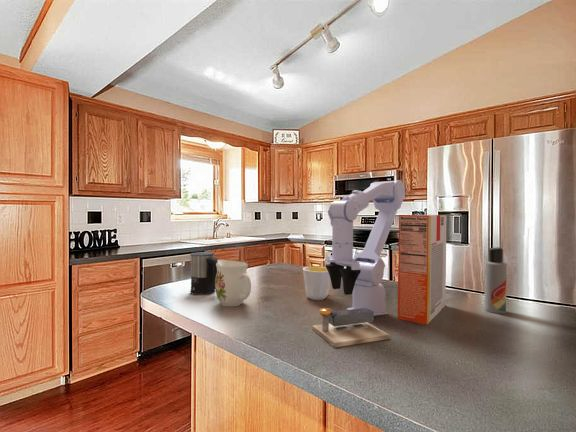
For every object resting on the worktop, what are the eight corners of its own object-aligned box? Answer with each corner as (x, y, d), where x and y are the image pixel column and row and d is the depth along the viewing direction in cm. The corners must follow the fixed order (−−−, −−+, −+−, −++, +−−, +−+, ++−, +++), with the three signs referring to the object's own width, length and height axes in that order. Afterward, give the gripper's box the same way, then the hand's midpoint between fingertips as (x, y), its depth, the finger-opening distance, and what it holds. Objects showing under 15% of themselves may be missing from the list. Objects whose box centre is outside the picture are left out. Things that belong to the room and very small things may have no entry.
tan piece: (361, 322, 90) (361, 304, 90) (389, 338, 79) (389, 318, 79) (312, 329, 85) (312, 310, 85) (334, 347, 74) (334, 325, 74)
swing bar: (323, 327, 79) (323, 312, 79) (317, 323, 82) (317, 308, 82) (373, 321, 84) (373, 306, 84) (365, 317, 87) (365, 303, 87)
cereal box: (419, 301, 112) (421, 214, 112) (445, 305, 108) (446, 215, 107) (397, 318, 94) (399, 215, 94) (427, 324, 89) (428, 215, 89)
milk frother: (184, 293, 120) (184, 253, 120) (207, 284, 135) (207, 249, 135) (219, 297, 116) (219, 255, 116) (238, 287, 131) (238, 250, 131)
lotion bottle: (509, 314, 99) (510, 248, 98) (488, 313, 100) (489, 248, 100) (500, 308, 104) (501, 246, 104) (481, 307, 105) (482, 246, 105)
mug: (322, 303, 109) (322, 272, 108) (297, 298, 115) (297, 269, 114) (340, 295, 120) (341, 267, 120) (316, 291, 126) (317, 264, 125)
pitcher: (234, 314, 97) (235, 268, 97) (204, 301, 110) (204, 261, 110) (263, 306, 104) (263, 264, 104) (232, 296, 117) (232, 258, 117)
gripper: (318, 241, 96) (317, 286, 97) (343, 246, 83) (342, 299, 83) (339, 240, 99) (338, 285, 99) (366, 245, 85) (366, 296, 85)
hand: (342, 291), depth 91 cm, fingers open, 6 cm apart
